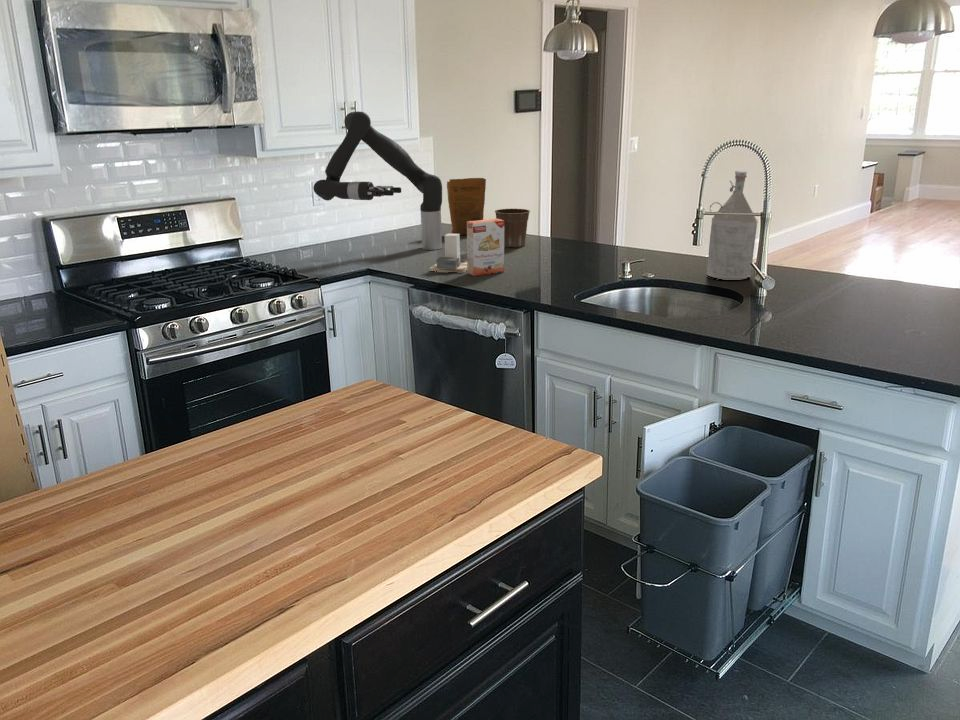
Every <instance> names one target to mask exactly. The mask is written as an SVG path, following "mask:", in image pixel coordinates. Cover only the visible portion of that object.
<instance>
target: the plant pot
mask: <svg viewBox="0 0 960 720" xmlns="http://www.w3.org/2000/svg"><path fill="white" fill-rule="evenodd" d="M494 213H495V219H501V220H504V248H510V247H511V248H514V249H515V248H522V247H525V246H526V240H527V231H528V222H529V221H528V220H529V216H530V213H531V210H530V209H526V208H501V209H500V208H499V209H495V210H494Z"/></svg>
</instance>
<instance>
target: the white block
mask: <svg viewBox="0 0 960 720" xmlns="http://www.w3.org/2000/svg"><path fill="white" fill-rule="evenodd" d="M460 237H461V235H460V234H452V233H446V234H445V235H444V257H452V258H459V261H460V251H461V241H460V240H461V239H460Z"/></svg>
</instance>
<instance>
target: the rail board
mask: <svg viewBox="0 0 960 720" xmlns="http://www.w3.org/2000/svg"><path fill="white" fill-rule="evenodd" d="M466 270H467V251H464V250H463V251H461V250H460V261H459V258H452V257H445V256H440V257H438V258H437V259H436V263H435V264H433V265H431V266H430V267H429V272H430V271H435V272H434V273H448V272H457V273H456V274H464V273H465V272H466ZM436 271H437V272H436ZM463 272H464V273H463Z"/></svg>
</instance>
